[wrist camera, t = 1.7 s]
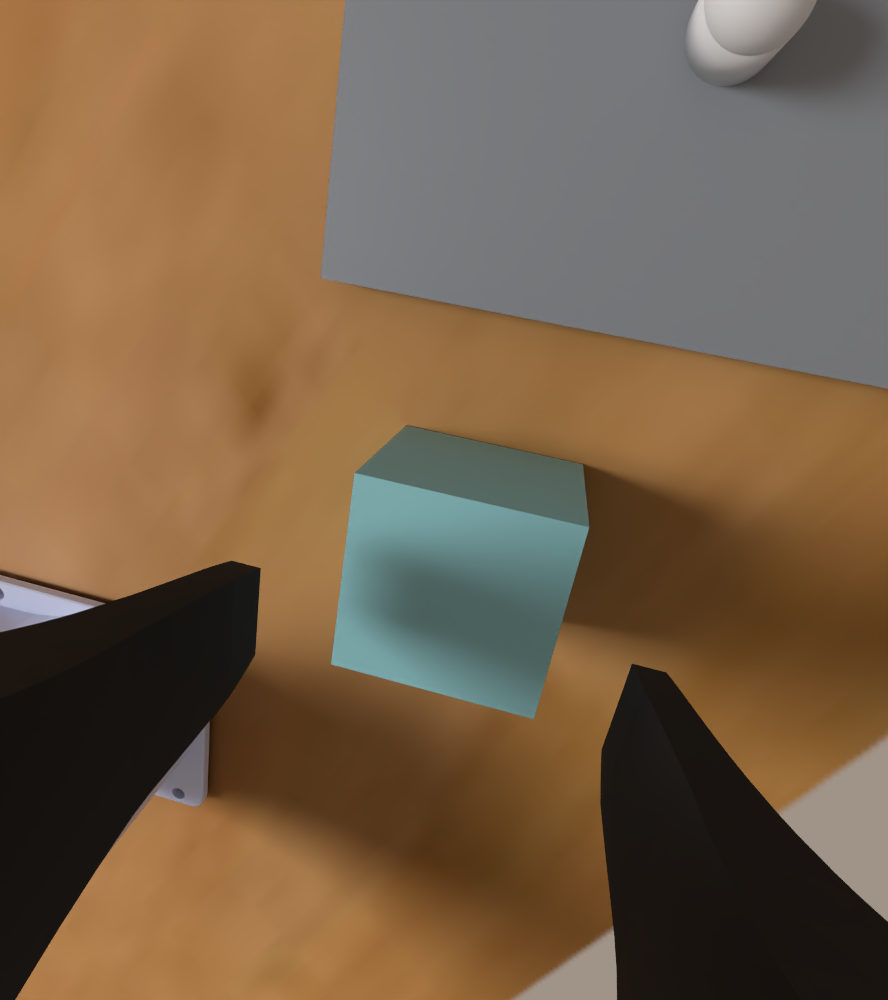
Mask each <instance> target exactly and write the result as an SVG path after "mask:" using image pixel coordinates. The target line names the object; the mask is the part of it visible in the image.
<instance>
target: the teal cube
mask: <svg viewBox="0 0 888 1000" xmlns="http://www.w3.org/2000/svg"><path fill="white" fill-rule="evenodd" d="M588 530H589V519H588V509H587V500H586V490H585V480H584V470H583V464H580V463H575V462H571V461H566V460H561V459H557V458H552V457H548V456H543V455H539V454H534V453H530V452H525V451H521V450H516V449H511V448H507V447H502V446H498V445H493V444H489V443H484V442H480V441H475V440H471V439H466V438H461V437H457V436H452V435H448V434H443V433H439V432H434V431H430V430H425V429H421V428H416V427H411V426H407V425H406V426H405V427H404V428H403V429H402V430H401V431H400V432H399V433H398V434H396V435H395V436H394V437H393V438H392V439H391V440H390V441H389V442H388V443H387V444H386V445H385V446H383V447H382V448H381V449H380V450H379V451H378V452H377V453H376V454H375V455H374V456H373V457H372V458H370V459H369V460H368V461H367V462H366V463H365V464H364V465H363V466H362V467H361V468H360V469H359V470H357V471H356V472H355V475H354V483H353V491H352V499H351V507H350V515H349V523H348V531H347V540H346V548H345V556H344V564H343V572H342V580H341V588H340V596H339V604H338V613H337V621H336V629H335V637H334V645H333V653H332V661H331V664H332V665H335V666H339V667H343V668H347V669H350V670H354V671H358V672H361V673H365V674H369V675H372V676H376V677H380V678H383V679H387V680H391V681H395V682H398V683H402V684H406V685H409V686H413V687H417V688H420V689H424V690H428V691H432V692H435V693H439V694H443V695H446V696H450V697H454V698H457V699H461V700H465V701H469V702H472V703H476V704H480V705H483V706H487V707H491V708H494V709H498V710H502V711H506V712H509V713H513V714H517V715H520V716H524V717H528V718H531V719H534V716H535V713H536V709H537V706H538V703H539V699H540V696H541V692H542V689H543V685H544V682H545V678H546V675H547V672H548V668H549V665H550V661H551V658H552V654H553V651H554V647H555V644H556V640H557V637H558V634H559V630H560V627H561V623H562V620H563V616H564V613H565V609H566V606H567V603H568V599H569V596H570V592H571V589H572V585H573V582H574V578H575V575H576V572H577V568H578V565H579V561H580V558H581V554H582V551H583V547H584V544H585V541H586V537H587V534H588Z"/></svg>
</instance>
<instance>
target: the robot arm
mask: <svg viewBox="0 0 888 1000" xmlns="http://www.w3.org/2000/svg"><path fill="white" fill-rule="evenodd" d="M260 569H261V568H258V567H254V566H250V565H246V564H242V563H238V562H234V561H229V562H225V563H222V564H218V565H215V566H212V567H209V568H206V569H203V570H201V571H198V572H195V573H192V574H189V575H187V576H184V577H181V578H178V579H176V580H173V581H170V582H167V583H164V584H162V585H159V586H156V587H153V588H150V589H148V590H145V591H142V592H139V593H136V594H133V595H131V596H127V597H124V598H121V599H118V600H115V601H112V602H109V603H102V602H98V601H95V600H91V599H87V598H83V597H80V596H76V595H72V594H69V593H65V592H61V591H58V590H54V589H50V588H46V587H43V586H39V585H35V584H32V583H28V582H24V581H21V580H17V579H13V578H9V577H6V576H2V575H0V1000H15V999H16V997H17V996H18V994H19V993H20V991H21V989H22V988H23V986H24V984H25V983H26V981H27V979H28V978H29V976H30V975H31V973H32V971H33V970H34V968H35V966H36V965H37V963H38V961H39V960H40V958H41V957H42V955H43V953H44V952H45V950H46V948H47V947H48V945H49V943H50V942H51V940H52V939H53V937H54V935H55V934H56V932H57V930H58V929H59V927H60V926H61V924H62V922H63V921H64V919H65V918H66V916H67V915H68V913H69V912H70V910H71V909H72V907H73V905H74V904H75V902H76V901H77V899H78V898H79V896H80V895H81V893H82V891H83V890H84V888H85V887H86V885H87V884H88V882H89V881H90V879H91V877H92V876H93V874H94V873H95V871H96V870H97V868H98V867H99V865H100V864H101V862H102V861H103V859H104V858H105V856H106V855H107V854H108V852H109V851H110V850H111V848H112V847H113V846H114V845H115V843H116V842H117V841H118V840H119V838H120V837H121V836H122V835H123V833H124V832H125V831H126V830H127V828H128V827H129V826H130V825H131V823H132V822H133V821H134V820H135V818H136V817H137V816H138V815H139V813H140V812H141V811H142V810H143V808H144V807H145V806H146V805H147V803H148V802H149V801H150V800H151V798H152V797H153V796H154V795H157V796H160V797H163V798H167V799H170V800H173V801H176V802H180V803H183V804H186V805H189V806H199V805H201V804H202V803H203V801H204V800H205V798H206V797H207V794H208V763H209V731H210V720H211V719H212V718H213V716H214V715H215V714H216V713H217V711H218V710H219V709H220V708H221V706H222V705H223V704H224V703H225V701H226V700H227V699H228V698H229V696H230V695H231V693H232V691H233V690H234V688H235V687H236V685H237V684H238V682H239V680H240V679H241V677H242V676H243V674H244V672H245V671H246V669H247V667H248V666H249V664H250V662H251V661H252V659H253V657H254V656H255V648H256V632H257V616H258V601H259V585H260ZM601 814H602V824H603V834H604V844H605V853H606V862H607V872H608V881H609V890H610V899H611V908H612V918H613V927H614V936H615V951H616V965H617V1000H888V922H887V921H886V920H885V919H884V918H883V917H882V916H881V915H879V914H878V913H877V912H876V911H875V910H874V909H873V908H872V907H871V906H869V905H868V904H867V903H866V902H865V901H864V900H863V899H862V898H861V897H860V896H859V895H857V894H856V893H855V892H854V891H853V890H852V889H851V888H850V887H849V886H848V885H847V884H846V883H845V882H844V881H843V880H842V879H841V878H840V877H838V875H836V874H835V873H834V872H833V871H832V870H831V869H830V867H828V865H827V864H825V862H824V861H823V860H822V859H821V858H820V857H819V856H818V855H817V854H816V853H815V852H814V851H813V850H812V849H811V848H810V847H809V846H808V845H807V844H806V843H805V842H804V841H803V840H802V839H801V838H800V837H799V836H798V835H797V834H796V833H795V832H794V831H793V830H792V829H791V827H789V825H788V824H787V823H786V822H785V821H784V820H783V819H782V818H781V817H780V815H779V814H778V813H777V812H776V811H775V810H774V809H773V807H772V806H771V805H770V804H769V803H768V802H767V800H766V799H765V798H764V797H763V796H762V795H761V794H760V792H759V791H758V790H757V789H756V788H755V787H754V785H753V784H752V783H751V782H750V781H749V779H748V778H747V777H746V776H745V775H744V773H743V772H742V771H741V770H740V768H739V767H738V766H737V765H736V764H735V762H734V761H733V760H732V759H731V757H730V756H729V755H728V753H727V752H726V751H725V750H724V748H723V747H722V746H721V744H720V743H719V742H718V741H717V739H716V738H715V737H714V735H713V734H712V733H711V731H710V730H709V729H708V727H707V726H706V725H705V723H704V722H703V721H702V719H701V718H700V717H699V715H698V714H697V713H696V711H695V710H694V709H693V707H692V706H691V704H690V703H689V702H688V700H687V699H686V698H685V696H684V695H683V694H682V692H681V691H680V690H679V688H678V687H677V686H676V684H675V683H674V682H673V680H672V679H671V678H670V677H669V675H668V674H667V673H666V672H662V671H658V670H654V669H650V668H646V667H643V666H639V665H635V664H632V666H631V668H630V671H629V674H628V677H627V680H626V683H625V685H624V688H623V691H622V694H621V697H620V700H619V702H618V705H617V708H616V711H615V714H614V717H613V719H612V722H611V725H610V728H609V731H608V733H607V736H606V739H605V742H604V745H603V748H602V755H601Z"/></svg>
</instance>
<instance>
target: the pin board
mask: <svg viewBox="0 0 888 1000" xmlns="http://www.w3.org/2000/svg"><path fill="white" fill-rule="evenodd" d="M321 278H322V279H327V280H332V281H337V282H342V283H347V284H352V285H358V286H363V287H368V288H373V289H378V290H383V291H388V292H394V293H399V294H404V295H409V296H414V297H419V298H424V299H429V300H435V301H440V302H445V303H450V304H455V305H460V306H465V307H471V308H476V309H481V310H486V311H491V312H496V313H501V314H507V315H512V316H517V317H522V318H527V319H532V320H537V321H542V322H548V323H553V324H558V325H563V326H568V327H573V328H578V329H584V330H589V331H594V332H599V333H604V334H609V335H614V336H619V337H625V338H630V339H635V340H640V341H645V342H650V343H655V344H661V345H666V346H671V347H676V348H681V349H686V350H691V351H696V352H702V353H707V354H712V355H717V356H722V357H727V358H732V359H738V360H743V361H748V362H753V363H758V364H763V365H768V366H774V367H779V368H784V369H789V370H794V371H799V372H804V373H809V374H815V375H820V376H825V377H830V378H835V379H840V380H845V381H851V382H856V383H861V384H866V385H871V386H876V387H881V388H886V389H888V0H345V11H344V22H343V33H342V44H341V55H340V67H339V78H338V89H337V100H336V112H335V123H334V134H333V145H332V157H331V168H330V179H329V190H328V201H327V213H326V224H325V235H324V246H323V258H322V269H321Z"/></svg>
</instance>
